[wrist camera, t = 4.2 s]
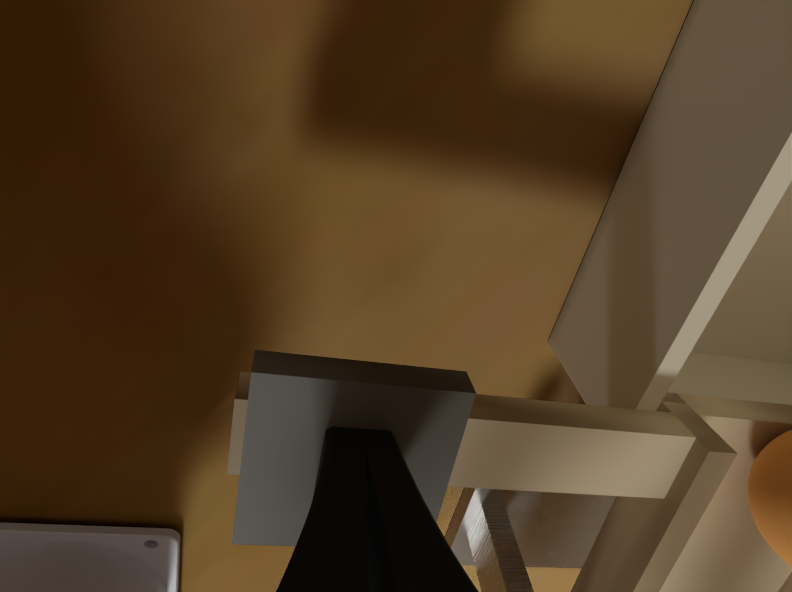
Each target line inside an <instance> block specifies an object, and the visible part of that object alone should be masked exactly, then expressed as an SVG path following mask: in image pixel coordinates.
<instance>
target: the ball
mask: <svg viewBox="0 0 792 592" xmlns="http://www.w3.org/2000/svg"><path fill="white" fill-rule="evenodd" d="M748 502H749V506H750V510H751V513H752V516H753V519H754V521H755V524H756V526H757V527H758V529H759V531H760V533H761V535H762V536H763V538H764V539H765V540H766V542H767V543H768V544H769V546H770V547H771V548H772V549H773V550H774V551H775V552H776V553H777V554H778V555H779V556H780V557H781V558H782V559H783V560H784V561H785V562H786V563H787V564H789V565H790V566H791V567H792V430H790V431H787V432H785V433H783V434H781V435H780V436H778V437H776V438H775V439H774V440H772V441H771V442H770V443H769V444H768V445H767V446H766V447H765V448H764V449H763V450H762V451H761V452H760V453H759V455H758V456H757V457H756V459H755V461H754V463H753V465H752V468H751V471H750V475H749V478H748Z"/></svg>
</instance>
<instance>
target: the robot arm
mask: <svg viewBox="0 0 792 592" xmlns="http://www.w3.org/2000/svg"><path fill="white" fill-rule="evenodd" d="M179 565H180V534H179V533H178V532H177V531H175V530H173V529H168V528H143V527H115V526H87V525H59V524H31V523H3V522H0V592H179ZM276 592H478V590H477V589H476V587H475V586H474V584H473V583H472V581H471V580H470V578H469V577H468V575H467V574H466V572H465V570H464V569H463V567H462V566H461V564H460V562H459V561H458V559H457V558H456V556H455V554H454V553H453V551H452V549H451V548H450V546H449V544H448V543H447V541H446V539H445V538H444V536H443V534H442V532H441V531H440V529H439V527H438V525H437V523H436V521H435V520H434V518H433V516H432V514H431V512H430V510H429V508H428V507H427V505H426V503H425V501H424V499H423V497H422V495H421V493H420V491H419V489H418V487H417V485H416V483H415V481H414V479H413V477H412V475H411V473H410V470H409V468H408V466H407V464H406V462H405V459H404V457H403V455H402V453H401V450H400V448H399V446H398V443H397V441H396V438H395V436H394V434H393V433H392V432H391V431H386V430H373V429H360V428H347V427H334V426H332V427H330V428H329V429H327V430H326V431H325V436H324V442H323V447H322V452H321V458H320V463H319V468H318V474H317V479H316V484H315V490H314V495H313V500H312V503H311V506H310V510H309V513H308V516H307V518H306V521H305V524H304V526H303V529H302V532H301V534H300V537H299V539H298V542H297V544H296V547H295V550H294V552H293V555H292V557H291V559H290V562H289V564H288V566H287V569H286V571H285V573H284V576H283V578H282V580H281V582H280V585H279V587H278V589H277V591H276Z"/></svg>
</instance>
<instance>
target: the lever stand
mask: <svg viewBox="0 0 792 592" xmlns="http://www.w3.org/2000/svg"><path fill="white" fill-rule="evenodd" d="M615 498H616V496H608V495H590V494H572V493H554V492H537V491H519V490H501V489H483V488H466V487H465V488H464V491H463V493H462V496H461V498H460V501H459V503H458V506H457V508H456V511H455V513H454V516H453V518H452V521H451V523H450V526H449V528H448V531H447V533H446V536H445V539H446V541H447V543H448V544H449V546H450V548H451V549H452V551H453V553H454V554H455V556H456V558H457V559H458V561H459V562H460V564H461V565H475V567H476V571H477V575H478V579H479V583H480V587H481V591H482V592H534V591H533V588H532V585H531V582H530V579H529V576H528V573H527V570H526V568H525V567H556V568H582V567H583V565H584V563H585V561H586V559H587V557H588V554H589V552H590V550H591V548H592V546H593V544H594V542H595V540H596V538H597V536H598V533H599V531H600V529H601V527H602V525H603V523H604V521H605V519H606V517H607V515H608V512H609V510H610V508H611V506H612V504H613V502H614V500H615Z"/></svg>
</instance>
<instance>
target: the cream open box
mask: <svg viewBox="0 0 792 592" xmlns="http://www.w3.org/2000/svg"><path fill="white" fill-rule="evenodd" d="M548 342H549V344H550V346H551V347H552V349H553V351H554V352H555V354H556V356H557V357H558V359H559V361H560V362H561V364H562V366H563V367H564V369H565V371H566V372H567V374H568V376H569V377H570V379H571V381H572V382H573V384H574V386H575V387H576V389H577V391H578V392H579V394H580V396H581V397H582V399H583V401H584V402H585V404H586V405H597V406H608V407H618V408H629V409H638V410H649V411H656V410H657V408H658V407H659V405H660V403H661V401H665V402H672V400H673V398H674V396H675V394H676V393H681V394H690V395H700V396H710V397H720V398H729V399H739V400H749V401H759V402H768V403H778V404H788V405H792V0H694V1H693V4H692V6H691V8H690V11H689V13H688V15H687V18H686V20H685V22H684V25H683V27H682V29H681V32H680V34H679V36H678V39H677V41H676V43H675V46H674V48H673V50H672V53H671V55H670V57H669V60H668V62H667V64H666V67H665V69H664V71H663V74H662V76H661V79H660V81H659V83H658V86H657V88H656V90H655V93H654V95H653V97H652V100H651V102H650V104H649V107H648V109H647V111H646V114H645V116H644V118H643V121H642V123H641V125H640V128H639V130H638V132H637V135H636V137H635V139H634V142H633V144H632V146H631V149H630V151H629V153H628V156H627V158H626V160H625V163H624V165H623V167H622V170H621V172H620V174H619V177H618V179H617V181H616V184H615V186H614V188H613V191H612V193H611V196H610V198H609V200H608V203H607V205H606V207H605V210H604V212H603V214H602V217H601V219H600V221H599V224H598V226H597V228H596V231H595V233H594V235H593V238H592V240H591V242H590V245H589V247H588V249H587V252H586V254H585V256H584V259H583V261H582V263H581V266H580V268H579V270H578V273H577V275H576V277H575V280H574V282H573V284H572V287H571V289H570V291H569V294H568V296H567V298H566V301H565V303H564V305H563V308H562V310H561V312H560V315H559V317H558V320H557V322H556V324H555V327H554V329H553V331H552V334H551V336H550V338H549V341H548Z"/></svg>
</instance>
